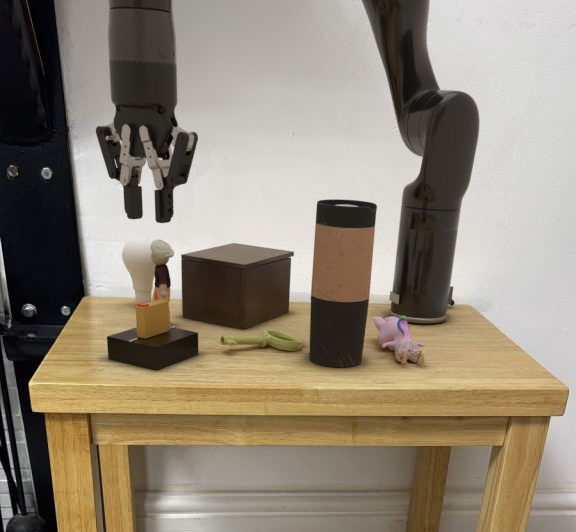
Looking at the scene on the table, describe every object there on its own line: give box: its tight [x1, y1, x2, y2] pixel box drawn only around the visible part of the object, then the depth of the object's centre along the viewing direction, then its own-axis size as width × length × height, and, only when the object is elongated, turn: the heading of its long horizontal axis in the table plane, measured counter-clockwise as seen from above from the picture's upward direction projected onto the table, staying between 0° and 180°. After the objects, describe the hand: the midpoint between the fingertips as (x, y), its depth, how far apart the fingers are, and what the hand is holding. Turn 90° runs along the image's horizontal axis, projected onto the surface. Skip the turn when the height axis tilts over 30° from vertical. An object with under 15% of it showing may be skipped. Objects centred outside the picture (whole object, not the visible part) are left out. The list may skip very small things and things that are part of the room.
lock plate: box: [106, 325, 199, 371], centre depth 103 cm, size 9×8×3 cm
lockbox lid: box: [180, 242, 295, 269], centre depth 122 cm, size 14×12×1 cm
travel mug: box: [309, 198, 378, 368], centre depth 101 cm, size 8×8×20 cm
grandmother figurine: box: [151, 238, 175, 327], centre depth 114 cm, size 8×4×13 cm, turn 18°
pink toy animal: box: [372, 315, 425, 367], centre depth 110 cm, size 6×6×15 cm
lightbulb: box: [121, 235, 156, 304], centre depth 126 cm, size 6×6×11 cm
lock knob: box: [135, 299, 170, 339], centre depth 101 cm, size 5×1×4 cm, turn 150°
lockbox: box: [180, 257, 292, 330], centre depth 124 cm, size 14×12×9 cm
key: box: [219, 329, 303, 352], centre depth 109 cm, size 7×12×2 cm, turn 139°
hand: (148, 219), depth 96 cm, fingers open, 4 cm apart
